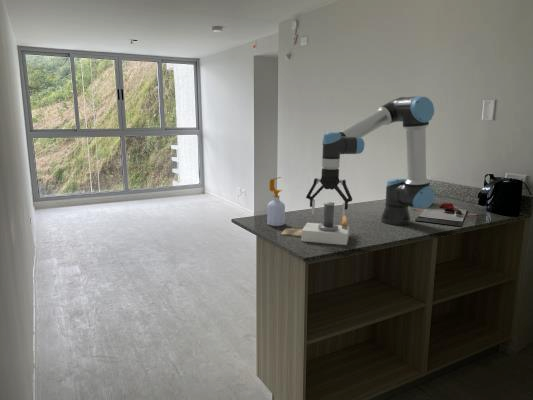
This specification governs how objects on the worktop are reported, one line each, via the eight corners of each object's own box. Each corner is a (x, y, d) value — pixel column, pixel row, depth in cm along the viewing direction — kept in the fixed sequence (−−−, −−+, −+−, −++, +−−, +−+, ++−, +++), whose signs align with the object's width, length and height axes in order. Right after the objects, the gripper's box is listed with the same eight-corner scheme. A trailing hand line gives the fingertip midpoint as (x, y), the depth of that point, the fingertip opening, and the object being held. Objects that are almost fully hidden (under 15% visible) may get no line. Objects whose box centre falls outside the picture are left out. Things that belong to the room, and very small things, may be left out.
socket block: (348, 236, 192) (349, 223, 190) (346, 245, 178) (347, 231, 177) (306, 232, 197) (307, 219, 195) (301, 241, 183) (301, 227, 182)
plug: (340, 238, 188) (341, 202, 185) (334, 243, 180) (335, 205, 177) (321, 235, 192) (322, 200, 189) (314, 240, 184) (316, 203, 181)
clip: (347, 225, 184) (347, 223, 184) (341, 225, 185) (341, 222, 185) (346, 217, 199) (346, 215, 199) (341, 217, 200) (341, 214, 199)
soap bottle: (279, 227, 206) (279, 178, 201) (263, 224, 210) (264, 177, 205) (287, 223, 213) (288, 176, 208) (272, 221, 218) (273, 175, 213)
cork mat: (305, 230, 200) (305, 229, 200) (302, 236, 190) (302, 235, 190) (285, 229, 202) (285, 228, 202) (281, 234, 193) (281, 233, 193)
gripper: (360, 168, 180) (357, 215, 184) (303, 165, 186) (302, 211, 190) (359, 170, 172) (356, 219, 177) (300, 167, 179) (299, 214, 183)
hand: (328, 215), depth 183 cm, fingers open, 13 cm apart
